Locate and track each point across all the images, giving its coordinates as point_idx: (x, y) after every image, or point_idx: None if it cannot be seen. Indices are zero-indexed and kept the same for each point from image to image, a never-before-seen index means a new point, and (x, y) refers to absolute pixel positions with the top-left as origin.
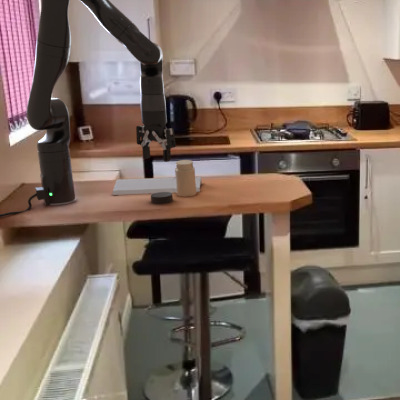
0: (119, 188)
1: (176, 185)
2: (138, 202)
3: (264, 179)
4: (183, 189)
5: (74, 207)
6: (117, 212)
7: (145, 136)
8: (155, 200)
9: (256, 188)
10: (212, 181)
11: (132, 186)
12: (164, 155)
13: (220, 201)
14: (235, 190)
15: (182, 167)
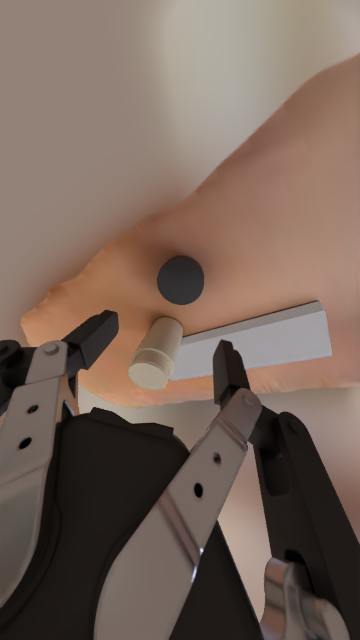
0: (310, 322)
1: (175, 332)
2: (232, 263)
3: (123, 394)
4: (159, 324)
5: None
6: (250, 136)
7: (205, 489)
8: (182, 257)
9: (102, 366)
10: (174, 386)
11: (280, 335)
12: (93, 324)
13: (92, 305)
14: (118, 356)
15: (142, 356)
